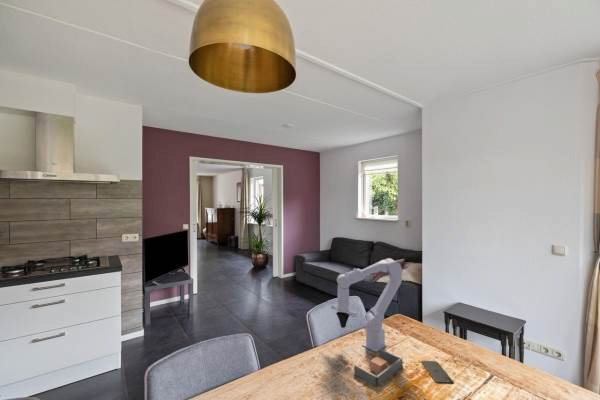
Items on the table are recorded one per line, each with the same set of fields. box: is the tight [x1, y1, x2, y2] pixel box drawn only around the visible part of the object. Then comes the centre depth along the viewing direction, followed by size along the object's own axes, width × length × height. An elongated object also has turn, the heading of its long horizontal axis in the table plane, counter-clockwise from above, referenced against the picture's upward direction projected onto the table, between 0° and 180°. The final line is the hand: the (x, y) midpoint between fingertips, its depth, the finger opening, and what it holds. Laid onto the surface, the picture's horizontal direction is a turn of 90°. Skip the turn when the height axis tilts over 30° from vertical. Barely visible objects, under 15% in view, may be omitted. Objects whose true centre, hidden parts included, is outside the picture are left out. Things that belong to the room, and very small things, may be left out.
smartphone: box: [420, 360, 455, 385], centre depth 113 cm, size 7×1×15 cm
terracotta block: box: [369, 356, 388, 375], centre depth 114 cm, size 5×5×4 cm
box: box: [353, 348, 403, 388], centre depth 114 cm, size 20×11×4 cm, turn 132°
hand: (343, 326), depth 133 cm, fingers closed
